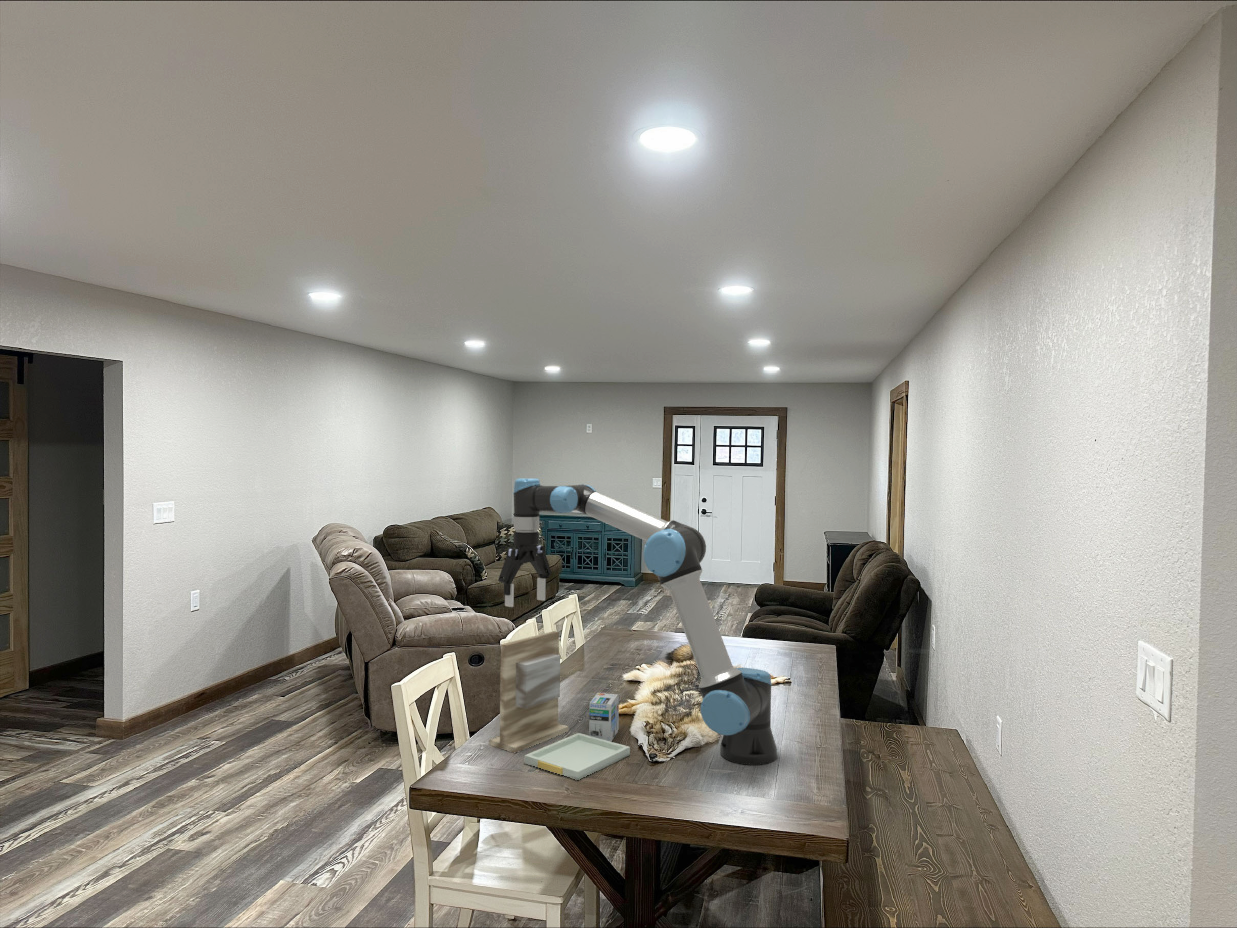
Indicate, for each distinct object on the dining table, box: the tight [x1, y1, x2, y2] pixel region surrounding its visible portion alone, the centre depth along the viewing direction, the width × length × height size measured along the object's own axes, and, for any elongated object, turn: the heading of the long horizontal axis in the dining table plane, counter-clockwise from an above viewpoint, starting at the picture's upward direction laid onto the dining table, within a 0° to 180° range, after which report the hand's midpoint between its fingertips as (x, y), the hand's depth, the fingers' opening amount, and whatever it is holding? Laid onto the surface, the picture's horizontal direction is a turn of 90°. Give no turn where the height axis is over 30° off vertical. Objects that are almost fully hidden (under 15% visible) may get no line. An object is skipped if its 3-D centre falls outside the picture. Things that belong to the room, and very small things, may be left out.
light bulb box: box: [588, 692, 620, 742], centre depth 232 cm, size 11×7×11 cm, turn 168°
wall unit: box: [488, 630, 569, 754], centre depth 229 cm, size 10×22×28 cm, turn 143°
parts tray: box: [523, 732, 631, 781], centre depth 213 cm, size 18×22×2 cm
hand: (525, 603), depth 237 cm, fingers open, 13 cm apart
